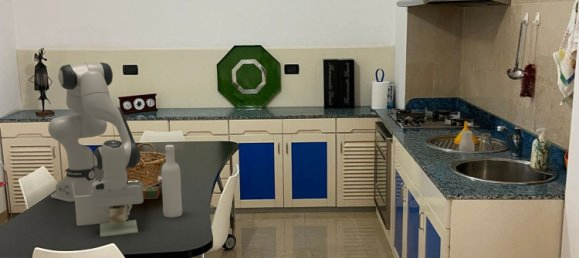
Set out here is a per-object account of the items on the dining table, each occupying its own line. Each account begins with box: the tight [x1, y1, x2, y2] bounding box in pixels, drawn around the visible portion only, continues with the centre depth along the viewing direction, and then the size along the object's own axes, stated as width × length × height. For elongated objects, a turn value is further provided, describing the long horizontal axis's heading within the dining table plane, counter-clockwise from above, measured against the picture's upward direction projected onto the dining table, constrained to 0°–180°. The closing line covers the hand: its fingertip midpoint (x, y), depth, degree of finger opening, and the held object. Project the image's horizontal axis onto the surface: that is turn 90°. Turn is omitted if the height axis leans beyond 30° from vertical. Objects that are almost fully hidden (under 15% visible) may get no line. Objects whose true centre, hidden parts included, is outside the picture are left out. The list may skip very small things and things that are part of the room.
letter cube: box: [109, 205, 127, 224], centre depth 230 cm, size 6×6×6 cm
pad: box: [99, 219, 139, 238], centre depth 231 cm, size 14×14×1 cm
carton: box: [142, 185, 161, 200], centre depth 275 cm, size 8×16×4 cm, turn 94°
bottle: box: [160, 144, 183, 219], centre depth 245 cm, size 8×8×30 cm
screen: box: [74, 195, 129, 227], centre depth 238 cm, size 20×2×12 cm, turn 108°
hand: (117, 216), depth 230 cm, fingers closed on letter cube, 6 cm apart
